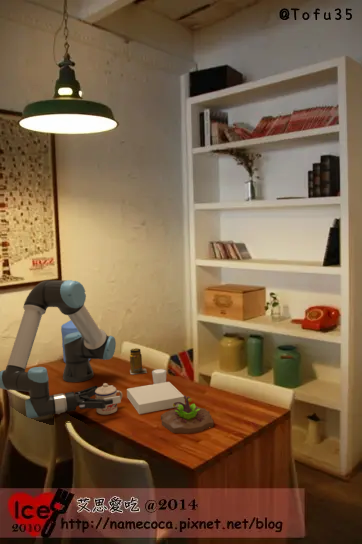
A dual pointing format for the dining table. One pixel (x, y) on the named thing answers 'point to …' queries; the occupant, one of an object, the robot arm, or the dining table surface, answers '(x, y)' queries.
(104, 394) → the teacup with lid
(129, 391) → the plinth
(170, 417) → the plant
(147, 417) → the dining table surface
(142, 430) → the dining table surface
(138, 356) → the condiment
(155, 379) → the white cup
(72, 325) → the water jug
